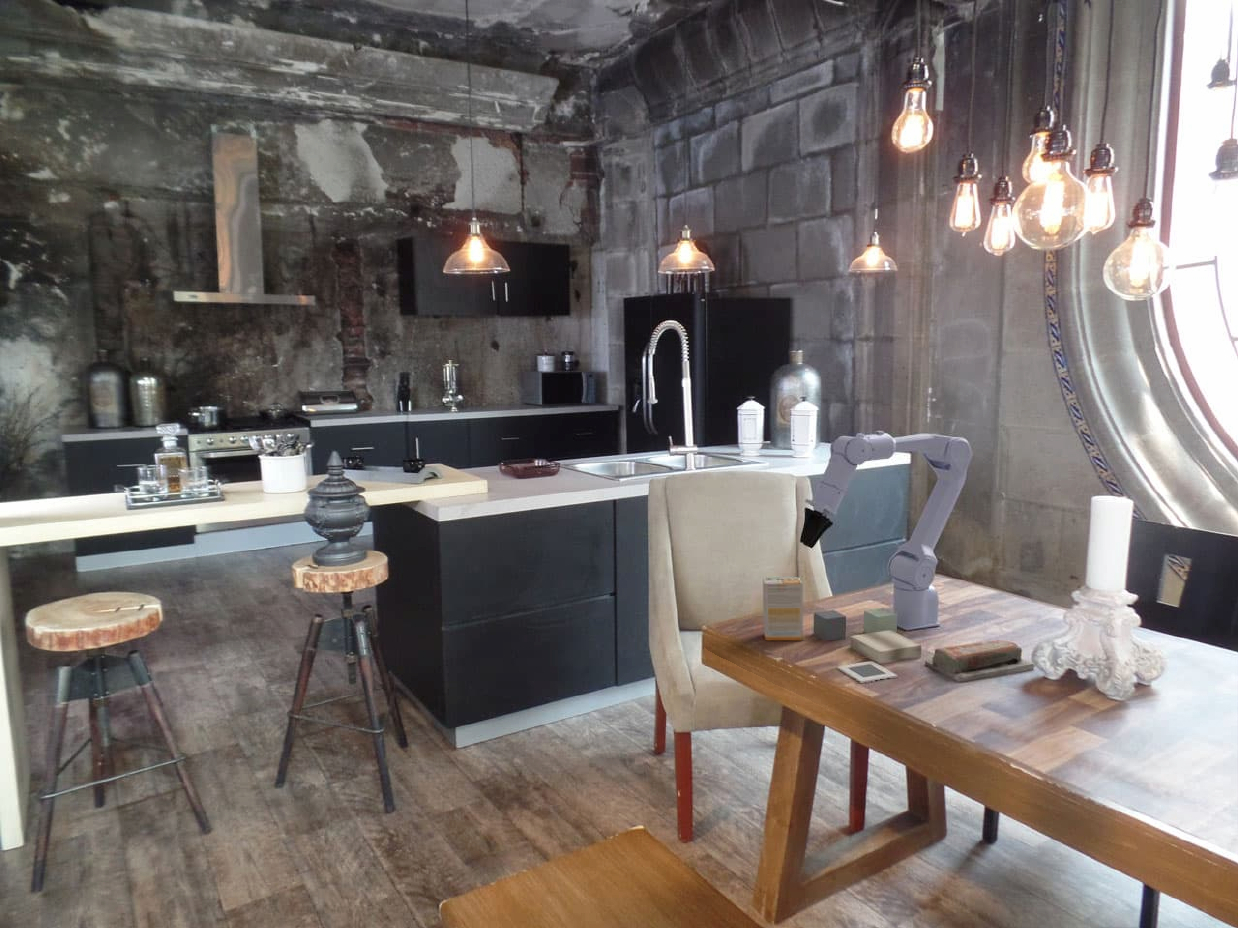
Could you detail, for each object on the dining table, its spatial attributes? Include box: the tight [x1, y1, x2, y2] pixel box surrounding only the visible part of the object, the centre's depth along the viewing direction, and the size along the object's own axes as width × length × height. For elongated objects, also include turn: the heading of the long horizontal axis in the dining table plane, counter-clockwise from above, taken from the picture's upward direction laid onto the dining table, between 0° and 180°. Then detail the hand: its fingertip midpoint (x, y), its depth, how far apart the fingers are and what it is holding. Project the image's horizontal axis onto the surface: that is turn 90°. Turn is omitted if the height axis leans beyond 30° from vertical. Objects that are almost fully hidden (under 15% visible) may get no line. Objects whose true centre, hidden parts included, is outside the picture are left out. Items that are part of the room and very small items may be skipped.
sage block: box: [863, 607, 898, 634], centre depth 185 cm, size 5×5×5 cm
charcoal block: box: [813, 609, 847, 642], centre depth 184 cm, size 5×5×5 cm
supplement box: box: [762, 577, 804, 641], centre depth 183 cm, size 8×5×13 cm, turn 84°
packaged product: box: [924, 640, 1035, 683], centre depth 165 cm, size 18×5×10 cm
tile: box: [837, 660, 898, 684], centre depth 163 cm, size 8×8×1 cm
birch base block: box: [849, 630, 922, 665], centre depth 174 cm, size 10×10×3 cm
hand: (806, 545), depth 180 cm, fingers open, 7 cm apart
